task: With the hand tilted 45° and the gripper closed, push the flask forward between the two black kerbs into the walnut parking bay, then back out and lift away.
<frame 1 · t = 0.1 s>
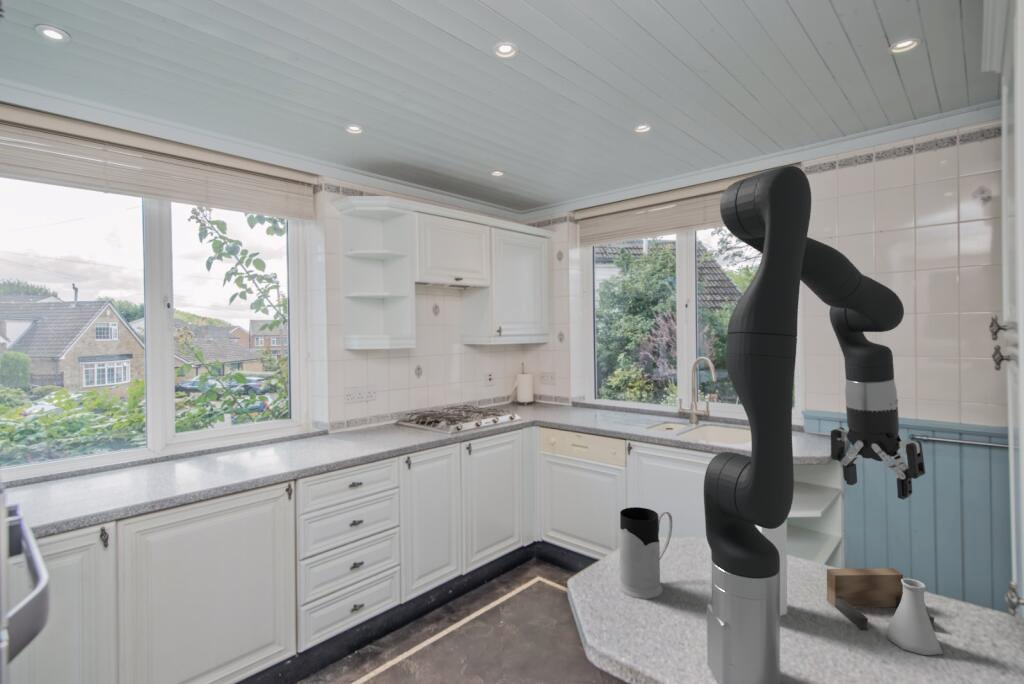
hand: (876, 490, 91), 22 cm above the countertop, tool pointing down, fingers open, 8 cm apart
flask: (913, 644, 83), on the countertop
milk: (761, 610, 93), on the countertop
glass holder: (649, 584, 103), on the countertop
parking bay: (882, 617, 90), on the countertop
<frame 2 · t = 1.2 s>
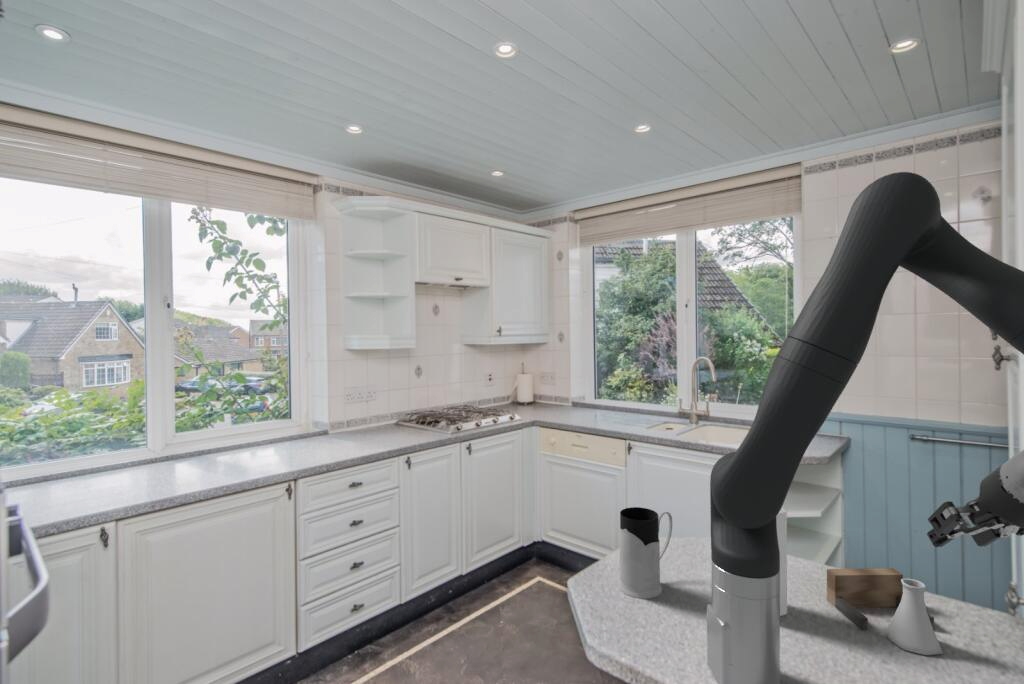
hand: (954, 540, 74), 20 cm above the countertop, tool tilted 45°, fingers open, 5 cm apart
nothing on the countertop moved.
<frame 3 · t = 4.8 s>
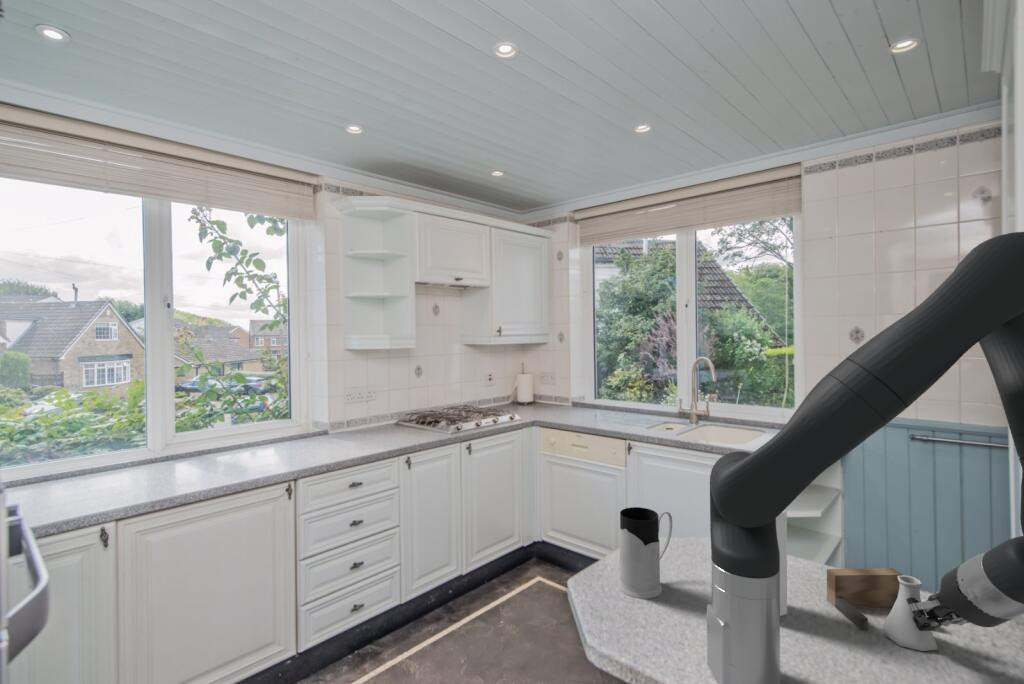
hand: (920, 624, 81), 4 cm above the countertop, tool tilted 45°, fingers closed
flask: (909, 640, 83), on the countertop, touching gripper
everything else where it was.
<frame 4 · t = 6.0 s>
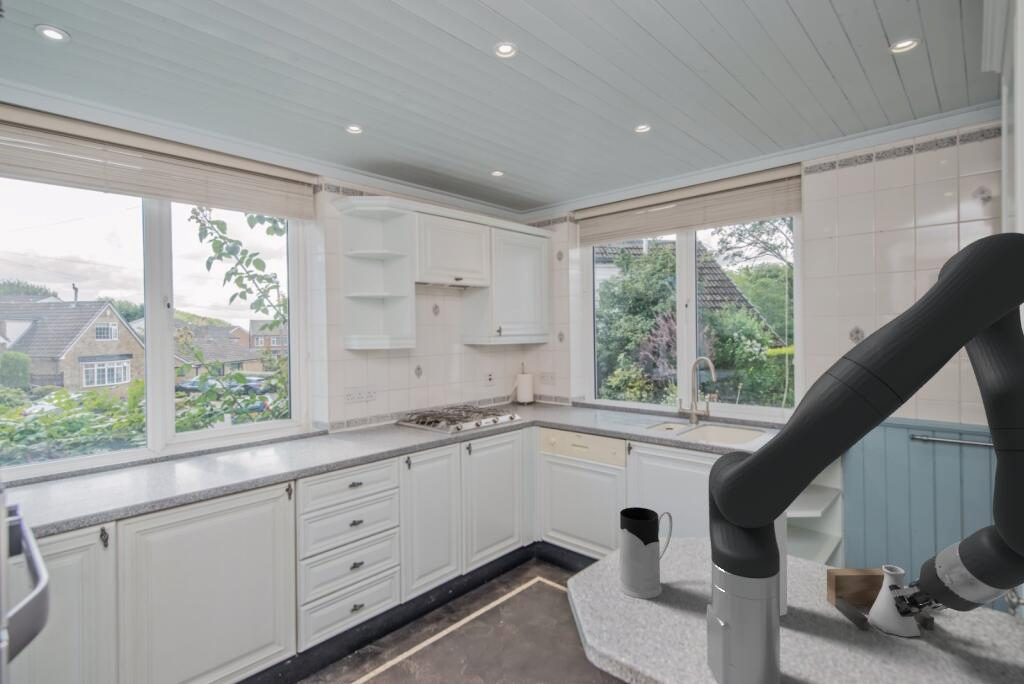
hand: (902, 610, 85), 4 cm above the countertop, tool tilted 45°, fingers closed
flask: (893, 626, 87), on the countertop, touching gripper
everything else where it was.
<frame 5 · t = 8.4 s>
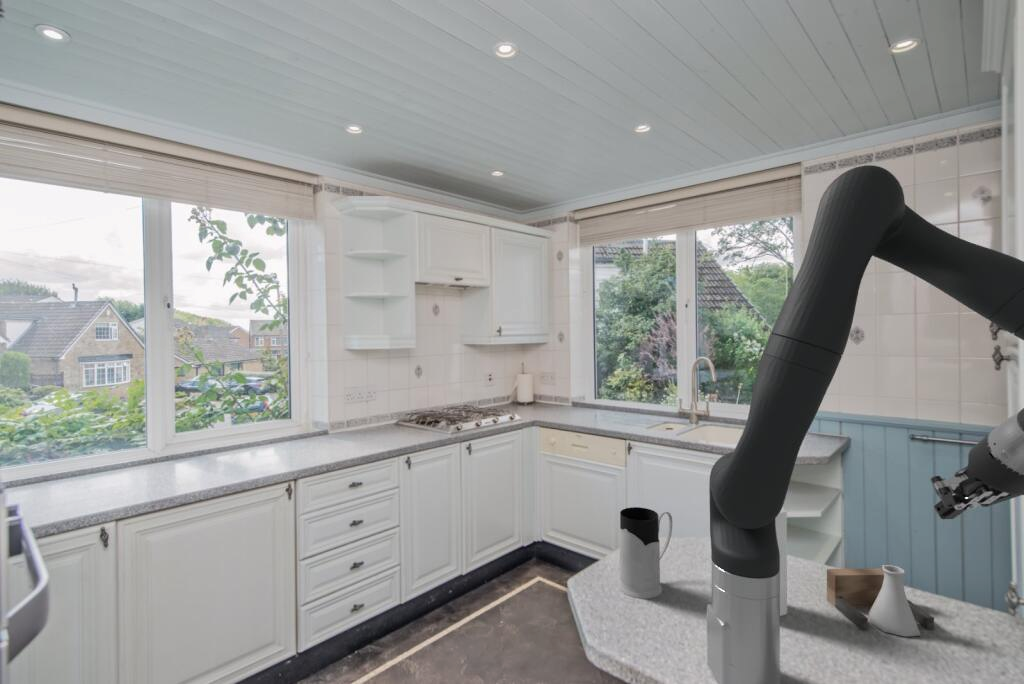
hand: (942, 513, 76), 24 cm above the countertop, tool tilted 45°, fingers closed
flask: (893, 626, 87), on the countertop
everything else where it was.
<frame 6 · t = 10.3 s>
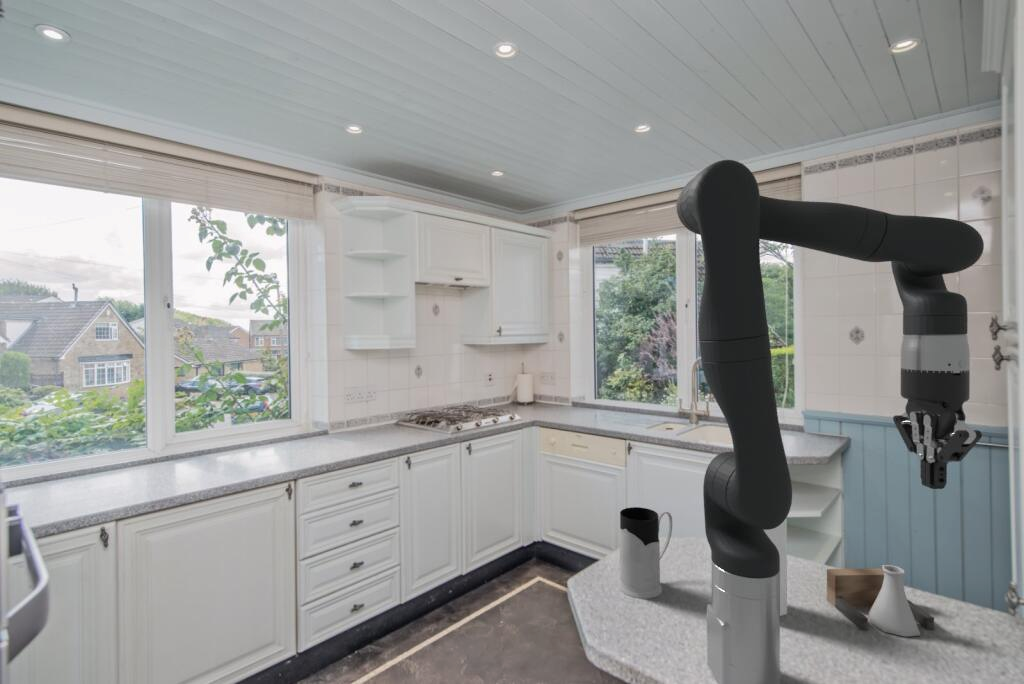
hand: (933, 487, 72), 29 cm above the countertop, tool pointing down, fingers closed
nothing on the countertop moved.
at the end: flask 1.7 cm from the target spot, on the countertop; flask tilted 0° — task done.
